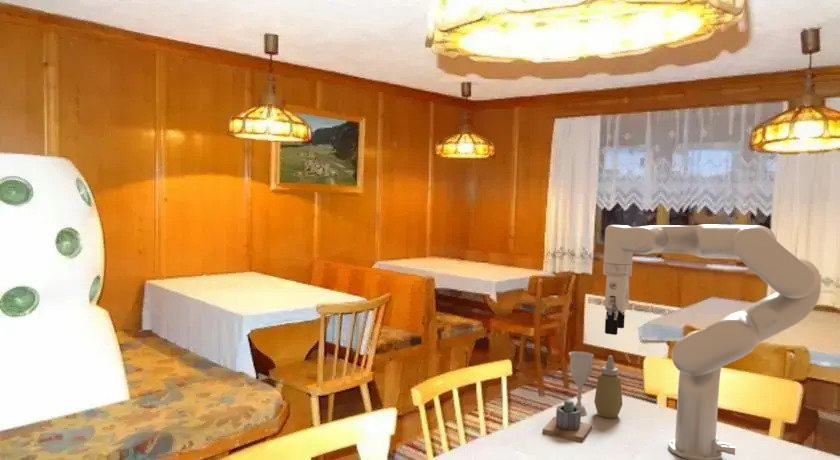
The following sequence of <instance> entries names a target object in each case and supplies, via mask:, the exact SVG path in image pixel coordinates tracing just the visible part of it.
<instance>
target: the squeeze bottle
mask: <svg viewBox="0 0 840 460" xmlns="http://www.w3.org/2000/svg"><path fill="white" fill-rule="evenodd" d="M597 376H598V377H597V383H596V388H595V393H594V394H595V395H594V401H593V402H594V406H595V409H596V412H597V415H598V416H600V417H602V418H607V419H614V418H618V417H619V414H620V412H621V410H622V408H623V393H622V391H623V389H622V377H621V376H620V375H619V368H617V367H616V366H615V361H614V357H613V355H608V356H607V359H606V364H605V366H604V365H603V366H602V367H601V373H600V374H598V375H597Z"/></svg>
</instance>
